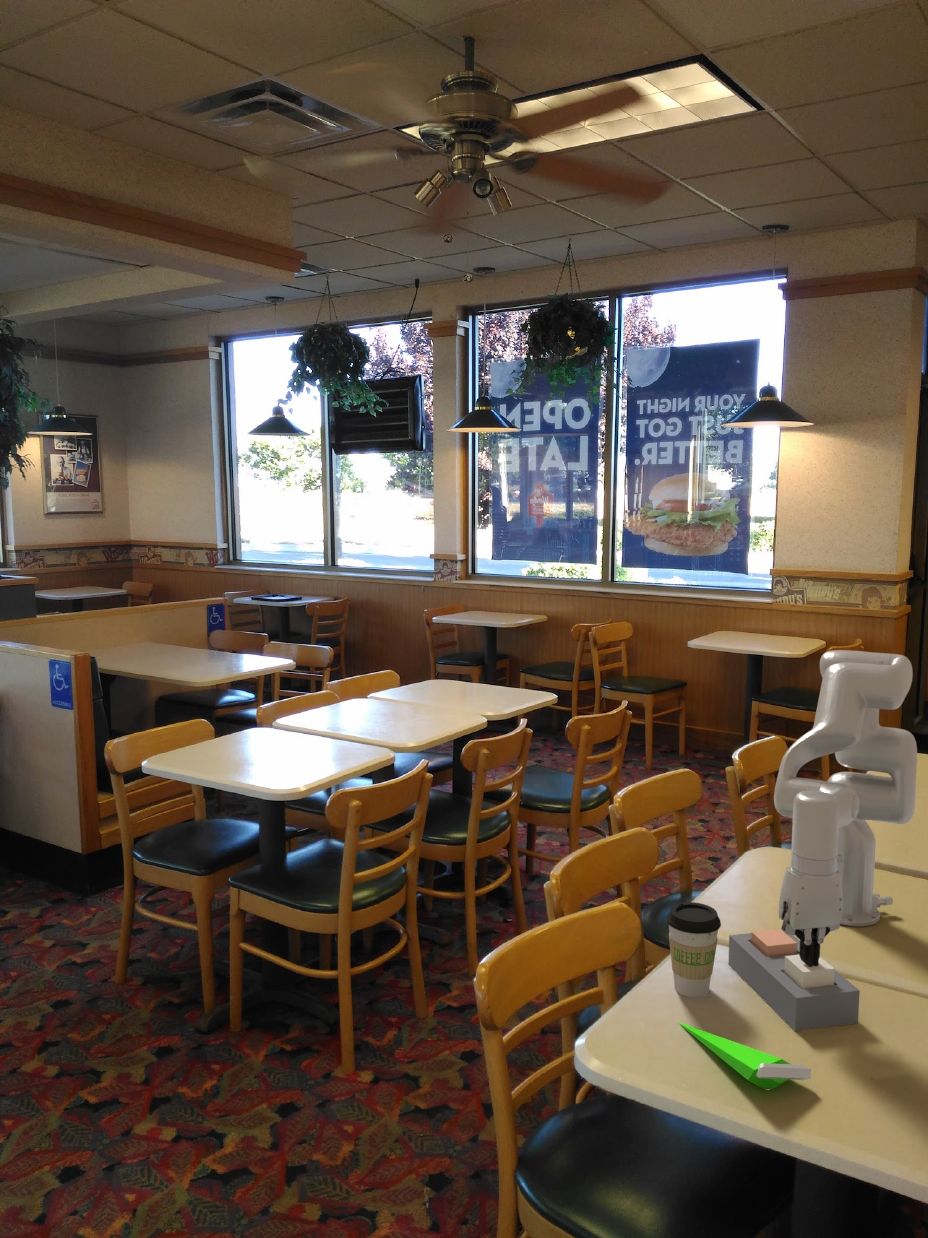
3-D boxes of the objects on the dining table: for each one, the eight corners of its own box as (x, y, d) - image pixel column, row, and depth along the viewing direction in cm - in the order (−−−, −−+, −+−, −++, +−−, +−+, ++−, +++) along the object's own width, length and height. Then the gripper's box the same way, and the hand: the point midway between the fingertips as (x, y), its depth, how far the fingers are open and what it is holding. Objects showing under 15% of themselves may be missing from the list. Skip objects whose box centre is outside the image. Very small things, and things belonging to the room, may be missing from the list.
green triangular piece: (647, 1041, 164) (756, 1098, 142) (652, 1009, 165) (761, 1060, 143) (696, 1044, 169) (809, 1099, 147) (701, 1012, 170) (813, 1063, 148)
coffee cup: (688, 1008, 171) (690, 928, 169) (653, 983, 180) (655, 907, 178) (730, 994, 175) (732, 916, 174) (694, 971, 184) (696, 896, 182)
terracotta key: (778, 958, 185) (780, 929, 185) (795, 973, 179) (796, 943, 179) (750, 961, 184) (751, 932, 183) (766, 976, 178) (767, 946, 177)
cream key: (813, 984, 174) (815, 952, 173) (833, 1001, 168) (834, 968, 167) (783, 987, 172) (785, 956, 172) (802, 1005, 166) (803, 972, 166)
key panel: (784, 958, 189) (785, 929, 188) (858, 1023, 166) (859, 990, 165) (728, 964, 187) (729, 935, 186) (795, 1031, 163) (796, 998, 163)
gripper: (839, 852, 172) (834, 949, 174) (763, 858, 169) (759, 957, 171) (865, 867, 165) (860, 968, 167) (786, 874, 162) (781, 977, 164)
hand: (809, 962), depth 169 cm, fingers closed
